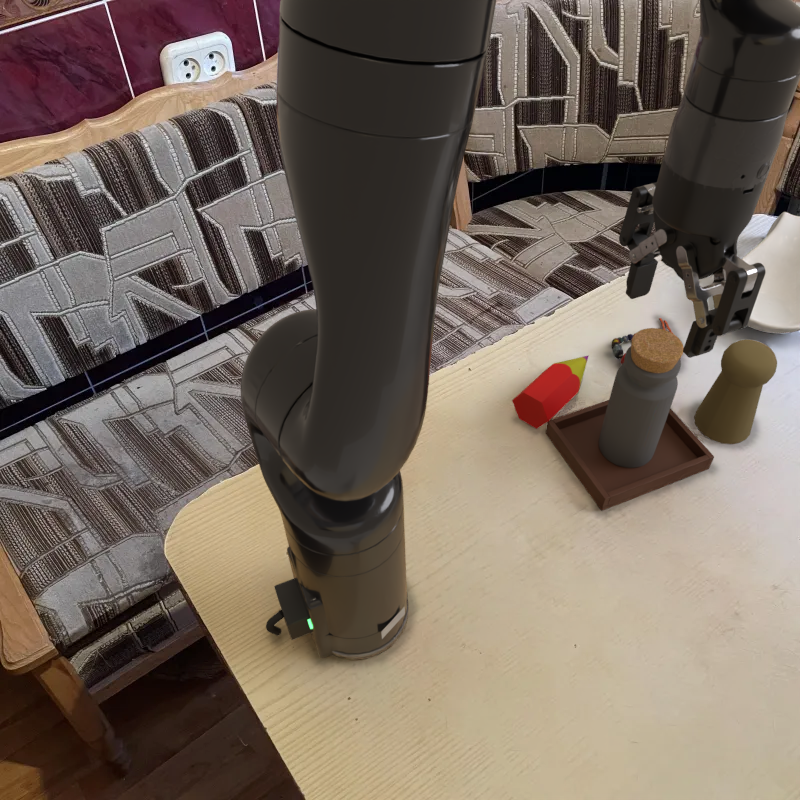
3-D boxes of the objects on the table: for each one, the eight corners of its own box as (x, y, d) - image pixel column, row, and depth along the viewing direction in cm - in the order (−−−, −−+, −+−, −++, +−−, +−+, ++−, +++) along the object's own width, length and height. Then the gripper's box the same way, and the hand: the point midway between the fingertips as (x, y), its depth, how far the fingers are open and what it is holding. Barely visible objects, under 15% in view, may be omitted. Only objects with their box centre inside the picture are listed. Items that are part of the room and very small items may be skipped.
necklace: (598, 357, 91) (602, 345, 89) (643, 317, 97) (648, 304, 96) (658, 390, 87) (664, 377, 86) (701, 346, 93) (706, 333, 92)
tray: (601, 511, 76) (605, 499, 75) (544, 433, 83) (547, 420, 82) (709, 469, 79) (714, 456, 78) (645, 397, 86) (650, 384, 85)
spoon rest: (809, 358, 90) (832, 312, 85) (706, 332, 94) (722, 286, 88) (826, 250, 104) (846, 205, 99) (737, 232, 108) (752, 187, 103)
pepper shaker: (729, 397, 86) (761, 324, 78) (763, 435, 82) (799, 363, 74) (683, 410, 85) (710, 338, 77) (714, 450, 81) (746, 378, 73)
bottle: (654, 472, 78) (692, 370, 67) (597, 464, 79) (625, 362, 68) (653, 430, 82) (688, 327, 71) (598, 423, 83) (625, 320, 72)
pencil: (603, 377, 89) (610, 351, 86) (545, 434, 83) (551, 408, 80) (568, 359, 91) (574, 333, 88) (509, 413, 85) (513, 386, 82)
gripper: (619, 125, 60) (585, 288, 71) (741, 218, 50) (679, 387, 62) (697, 106, 61) (652, 268, 73) (828, 193, 52) (752, 362, 64)
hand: (664, 323), depth 68 cm, fingers open, 8 cm apart
